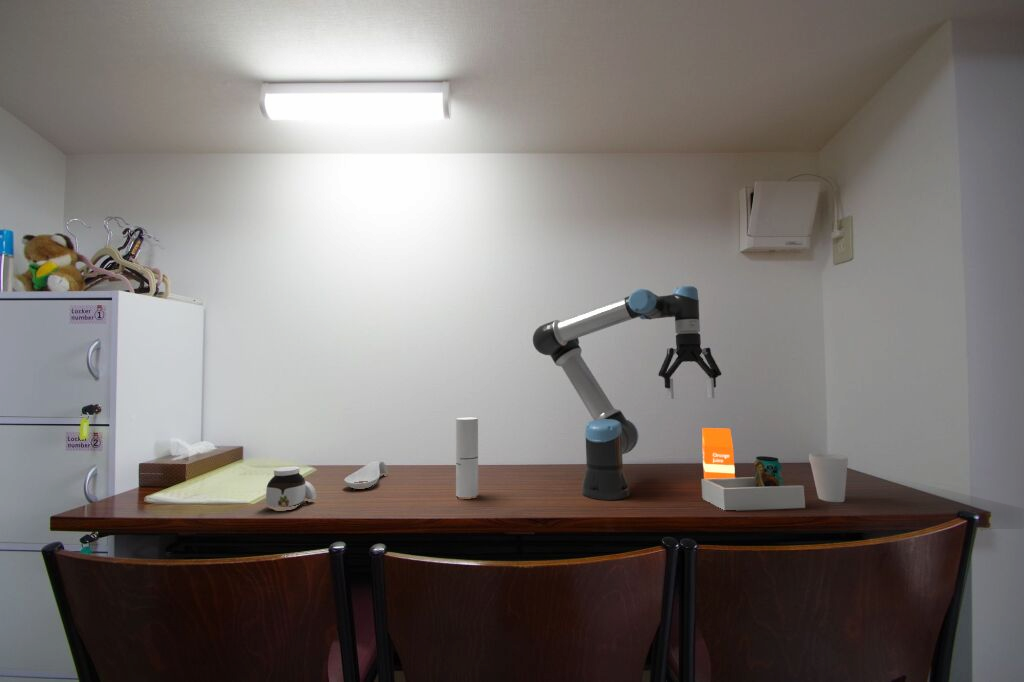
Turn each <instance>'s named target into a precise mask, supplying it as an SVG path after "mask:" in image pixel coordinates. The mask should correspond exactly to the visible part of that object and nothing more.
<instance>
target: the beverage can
mask: <svg viewBox="0 0 1024 682" xmlns="http://www.w3.org/2000/svg"><path fill="white" fill-rule="evenodd" d="M753 466H754V467H753V468H754V477H755V486H756V487H770V486H784V485H783V472H782V471H783V470H782V469H783V468H782V464H781V463H780V461H779V458H777V457H775V456H764V455H763V456H762V455H761V456H756V457H755V461H754V463H753Z"/></svg>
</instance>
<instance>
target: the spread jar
mask: <svg viewBox="0 0 1024 682" xmlns="http://www.w3.org/2000/svg"><path fill="white" fill-rule="evenodd" d="M273 475H274V476H272V478H271V479H270V480H269V481H268V483H267V485H266V490H265V504H266V506H267V507H268V506H273V507H291V506H296V505H299V504H301V503H302V502H305V501H304V499H305V498H307V499H312V500H313V499H314V500H316V498H317V492H316V489H315V487H314V486H313V484H311V482H309V481H306V480H305V477H304V476H303V475H302V474H301V473H300V467H299V466H296V465H295V466H294V465H293V466H292V465H291V466H282V467H277V468H274V469H273ZM314 500H313V501H314ZM302 504H303V503H302ZM302 504H301V505H302Z"/></svg>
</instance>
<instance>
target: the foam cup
mask: <svg viewBox="0 0 1024 682" xmlns="http://www.w3.org/2000/svg"><path fill="white" fill-rule="evenodd" d="M808 459H809V463H810V466H811V471H812V475H813V480H814V485H815V489H816V494H817V496H818V497H817V498H818V499H820V500H821V501H825V502H832V503H843V502H845V499H846V498H845V497H846V488H847V487H846V485H847V473H848V471H847V470H848V466H849V462H848V457H847V456H846V455H843V454H842V455H841V454H838V453H837V454H836V453H835V454H834V453H829V452H827V453H825V452H811V453H808Z"/></svg>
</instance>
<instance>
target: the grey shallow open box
mask: <svg viewBox="0 0 1024 682" xmlns="http://www.w3.org/2000/svg"><path fill="white" fill-rule="evenodd" d="M700 481H701V495H702V496H701V498H703V499H702V500H704V501H706V502H708V503H709V502H710V504H712V505H713V506H715V507H716V508H718V507H719V508H718V509H720V508H721V509H720V510H722V509H723V510H722V511H724V510H736V511H755V510H756V511H757V510H758V511H759V510H762V511H763V510H782V509H783V510H785V509H786V510H787V509H806V498H805V486H804V485H783V486H770V487H756V486H755V476H751V477H748V476H747V477H746V476H745V477H735V478H714V479H704V478H701V480H700Z"/></svg>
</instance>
